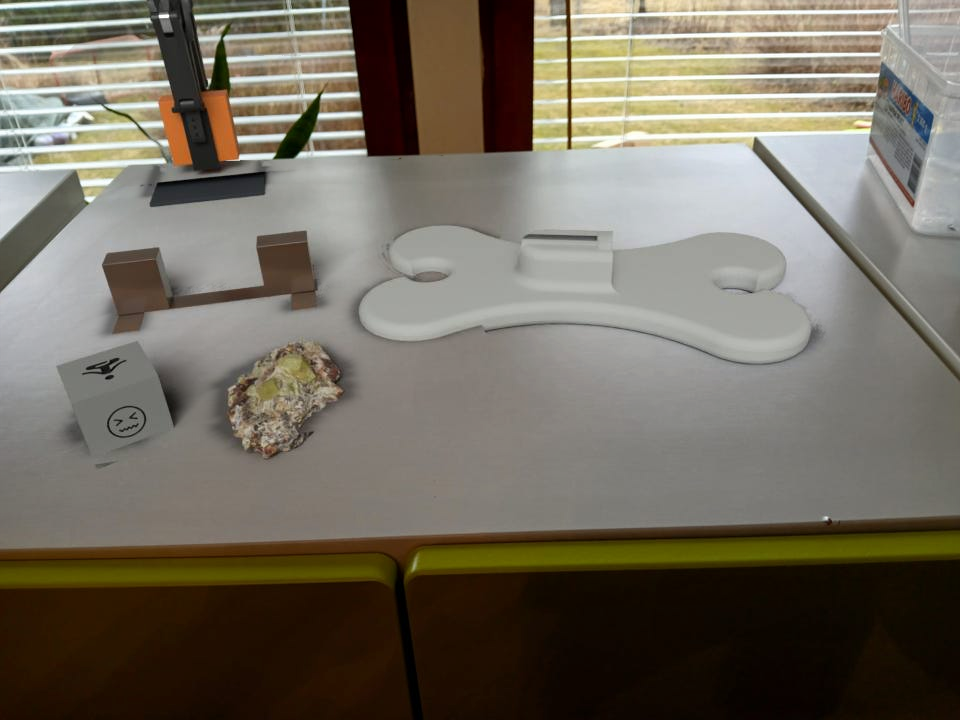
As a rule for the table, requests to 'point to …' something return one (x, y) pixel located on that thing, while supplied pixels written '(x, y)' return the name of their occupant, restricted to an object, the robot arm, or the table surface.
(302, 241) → the stand
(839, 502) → the table surface
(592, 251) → the holder
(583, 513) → the table surface
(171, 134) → the orange flat square block
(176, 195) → the mat
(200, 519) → the table surface
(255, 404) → the mineral rock
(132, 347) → the dice cube
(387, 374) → the table surface
